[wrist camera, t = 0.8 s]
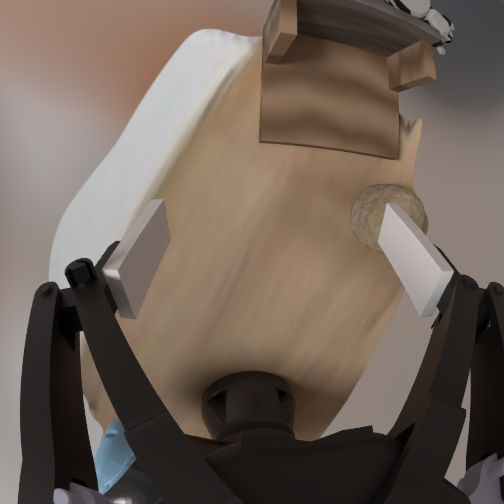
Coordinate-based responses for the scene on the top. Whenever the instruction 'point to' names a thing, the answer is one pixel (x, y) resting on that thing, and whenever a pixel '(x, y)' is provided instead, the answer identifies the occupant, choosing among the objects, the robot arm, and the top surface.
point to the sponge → (382, 211)
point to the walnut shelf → (340, 73)
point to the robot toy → (427, 18)
